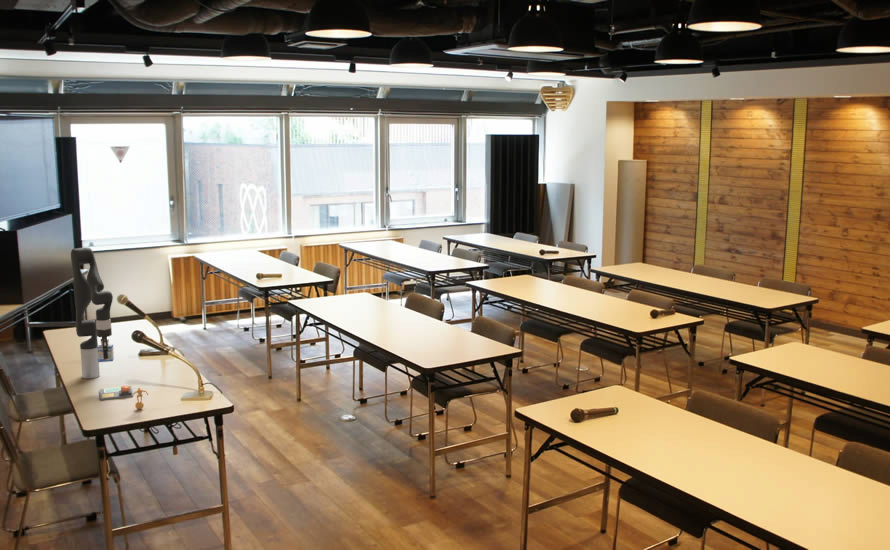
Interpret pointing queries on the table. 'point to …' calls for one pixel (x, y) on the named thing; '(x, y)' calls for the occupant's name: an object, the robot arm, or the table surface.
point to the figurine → (139, 404)
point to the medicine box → (100, 354)
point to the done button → (125, 388)
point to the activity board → (114, 393)
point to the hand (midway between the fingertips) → (105, 357)
